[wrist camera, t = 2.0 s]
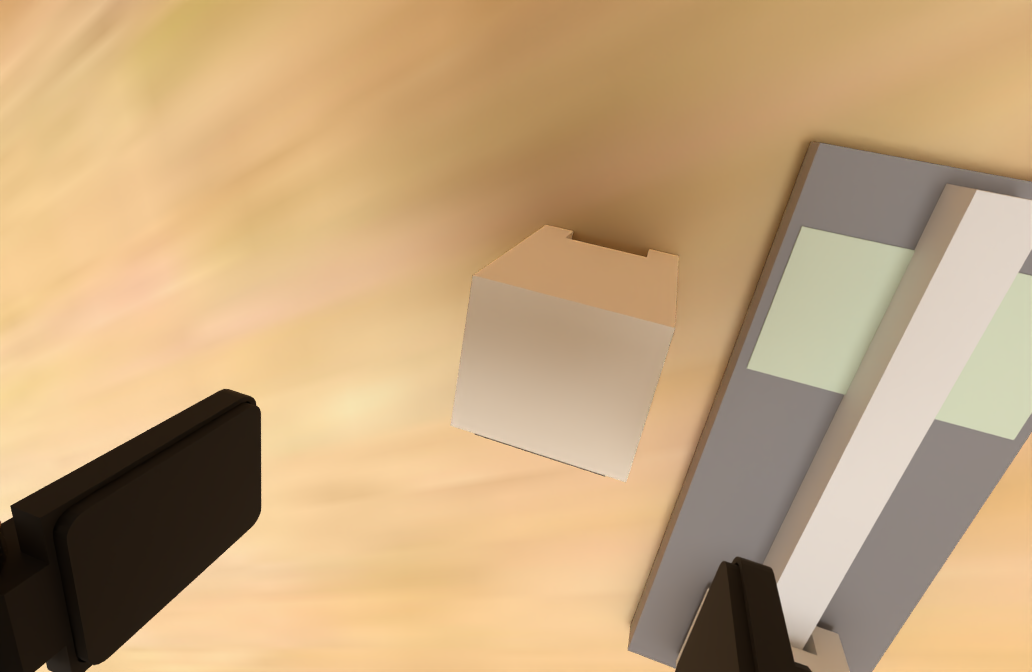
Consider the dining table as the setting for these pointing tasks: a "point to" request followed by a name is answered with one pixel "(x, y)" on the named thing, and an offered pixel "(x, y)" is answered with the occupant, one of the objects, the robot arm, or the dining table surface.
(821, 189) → the rail board
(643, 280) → the cream rectangular block
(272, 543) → the dining table surface
